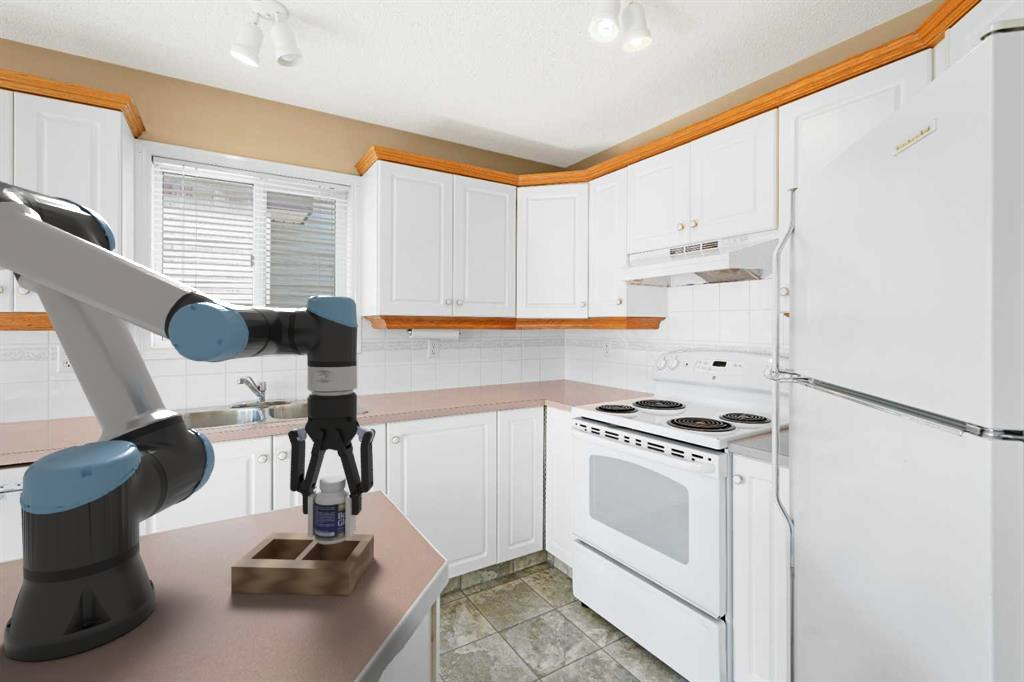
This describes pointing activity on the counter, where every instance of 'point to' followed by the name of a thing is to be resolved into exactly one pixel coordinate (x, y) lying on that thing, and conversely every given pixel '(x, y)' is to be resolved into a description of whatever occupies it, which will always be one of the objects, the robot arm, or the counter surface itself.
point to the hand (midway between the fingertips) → (332, 533)
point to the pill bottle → (330, 510)
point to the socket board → (302, 565)
